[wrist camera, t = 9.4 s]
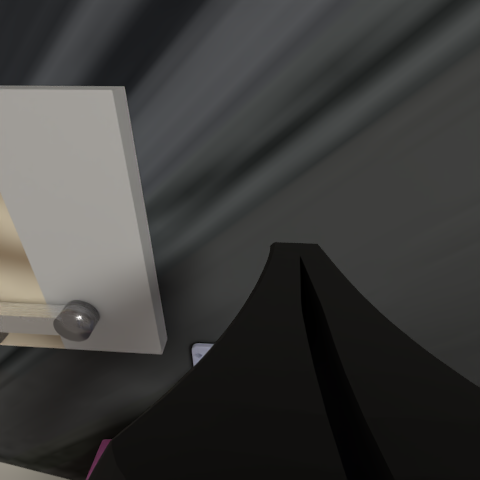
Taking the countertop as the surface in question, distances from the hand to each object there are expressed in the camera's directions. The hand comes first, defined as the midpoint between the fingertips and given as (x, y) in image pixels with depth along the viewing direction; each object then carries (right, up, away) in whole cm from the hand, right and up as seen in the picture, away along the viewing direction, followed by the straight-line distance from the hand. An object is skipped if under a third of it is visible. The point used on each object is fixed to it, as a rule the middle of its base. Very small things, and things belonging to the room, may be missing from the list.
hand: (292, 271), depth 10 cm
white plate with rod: (-11, +1, +11) cm, 16 cm away
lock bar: (-17, -4, +13) cm, 22 cm away
